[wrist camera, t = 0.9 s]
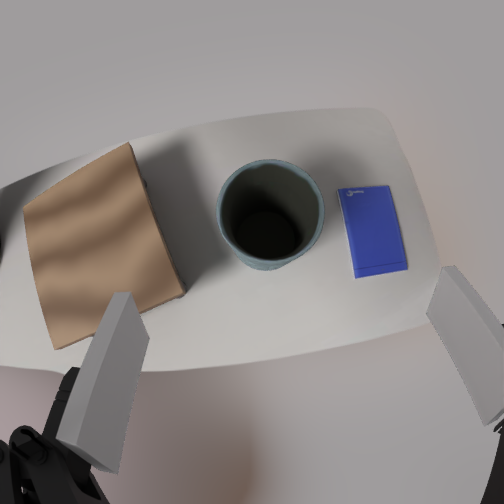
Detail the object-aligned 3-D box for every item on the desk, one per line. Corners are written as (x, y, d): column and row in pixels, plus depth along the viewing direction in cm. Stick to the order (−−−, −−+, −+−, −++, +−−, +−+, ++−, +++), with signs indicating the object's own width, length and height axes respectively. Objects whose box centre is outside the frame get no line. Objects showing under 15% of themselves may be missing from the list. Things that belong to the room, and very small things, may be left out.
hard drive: (338, 188, 39) (356, 278, 36) (389, 185, 39) (408, 269, 37) (335, 192, 41) (352, 279, 38) (385, 189, 41) (403, 271, 38)
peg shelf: (52, 223, 39) (22, 207, 31) (147, 169, 41) (128, 141, 33) (86, 345, 36) (54, 349, 28) (197, 297, 37) (182, 292, 29)
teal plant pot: (277, 190, 40) (286, 143, 28) (319, 252, 38) (347, 225, 26) (212, 228, 39) (195, 192, 27) (253, 294, 37) (253, 285, 25)
